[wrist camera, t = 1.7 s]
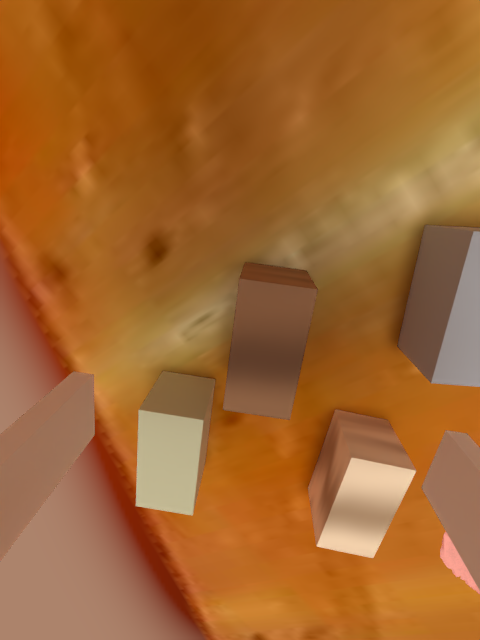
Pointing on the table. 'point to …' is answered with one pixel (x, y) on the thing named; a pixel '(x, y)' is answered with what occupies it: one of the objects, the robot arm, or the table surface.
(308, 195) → the table surface
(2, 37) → the table surface
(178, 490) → the sage brick
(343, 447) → the birch brick
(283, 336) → the walnut brick
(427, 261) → the slate brick
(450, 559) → the cloth
